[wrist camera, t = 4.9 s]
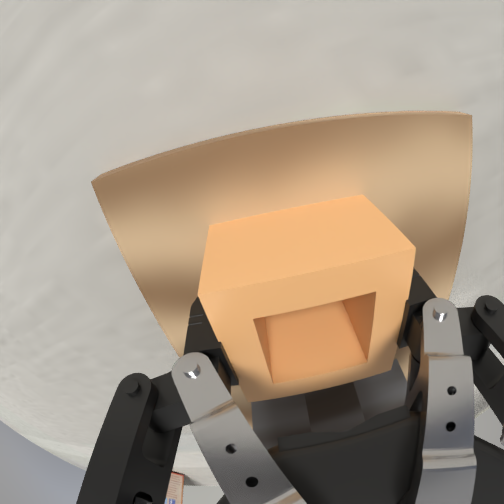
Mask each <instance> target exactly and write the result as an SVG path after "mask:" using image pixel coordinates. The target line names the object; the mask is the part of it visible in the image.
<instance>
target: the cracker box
mask: <svg viewBox="0 0 504 504" xmlns="http://www.w3.org/2000/svg"><path fill="white" fill-rule="evenodd" d="M183 484H184V475H181V474H178V473H174V472H172V473H171V477H170V481H169V486H168V490H167V495H166V499H165V504H182V503H183Z"/></svg>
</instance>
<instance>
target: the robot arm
mask: <svg viewBox="0 0 504 504" xmlns="http://www.w3.org/2000/svg"><path fill="white" fill-rule="evenodd" d="M189 317H190V318H189V321H188V327H187V334H186V340H185V347H184V354H183V356H182V357H180V358H179V359H178V360H177V361H176V362H175V363H174V365H173V367H172V371H170V372H169V373H167V374H164V375H161V376H159V377H156V378H153V379H149V378H148V377H147V376H146V375H145V374H142V373H134V374H130V375H128V376H127V377H125V378H124V379H123V380H122V381H121V382H120V384H119V385H118V388H117V390H116V392H115V395H114V397H113V400H112V402H111V405H110V407H109V410H108V412H107V415H106V418H105V420H104V423H103V425H102V428H101V431H100V433H99V436H98V439H97V442H96V444H95V447H94V450H93V453H92V456H91V459H90V462H89V465H88V468H87V471H86V474H85V477H84V480H83V483H82V487H81V490H80V493H79V496H78V500H77V503H76V504H165V499H166V495H167V490H168V486H169V481H170V477H171V473H172V468H173V464H174V460H175V456H176V451H177V447H178V443H179V439H180V435H181V431H182V427H183V426H185V425H188V424H190V428H191V431H192V433H193V435H194V437H195V439H196V441H197V443H198V445H199V448H200V450H201V452H202V454H203V456H204V457H205V459H206V461H207V463H208V465H209V467H210V469H211V471H212V473H213V475H214V476H215V478H216V480H217V482H218V484H219V485H220V487H221V489H222V491H223V492H224V495H223V497H222V498H221V499H220V500H219V501H218V503H217V504H504V450H503V449H501V448H499V447H497V446H495V445H493V444H491V443H489V442H487V441H485V440H483V439H481V438H479V437H477V436H475V435H474V384H475V386H476V387H477V388H478V390H479V391H480V393H481V394H482V396H483V397H484V398H485V400H486V401H487V403H488V404H489V406H490V407H491V409H492V410H493V411H494V413H495V415H496V416H497V418H498V419H499V421H500V422H501V424H502V426H503V429H502V435H501V438H500V442H501V444H502V445H504V366H503V364H502V363H501V362H500V361H499V359H498V358H497V357H496V356H495V354H494V353H493V352H492V351H491V350H490V348H489V346H490V344H492V345H493V346H494V347H495V349H496V350H497V351H498V352H499V353H500V355H501V356H502V357H503V358H504V304H503V303H502V302H501V301H499V300H498V299H497V298H495V297H493V296H489V295H485V296H481V297H479V298H478V299H477V300H476V303H475V305H474V307H466V308H456V307H455V305H454V304H453V303H452V302H450V301H449V300H447V299H443V298H437V297H436V295H435V294H434V293H433V291H432V290H431V289H430V287H429V286H428V285H427V283H426V282H425V281H424V279H423V278H422V277H421V276H420V275H419V273H418V272H417V271H416V270H415V269H414V267H413V274H412V280H411V286H410V292H409V297H408V300H406V303H405V308H404V313H403V318H402V322H401V327H400V331H399V336H398V340H397V345H398V347H399V349H400V348H403V347H406V346H409V348H410V350H411V351H410V354H409V365H408V380H407V391H406V398H405V402H404V405H403V406H400V407H398V408H395V409H392V410H389V411H386V412H383V413H380V414H377V415H375V416H374V417H372V418H370V419H369V420H367V421H365V422H363V423H362V424H360V425H358V426H356V427H354V428H352V429H351V430H348V431H345V432H308V433H302V434H297V435H291V436H285V437H279V438H277V439H278V445H277V446H274V447H272V448H270V449H268V450H266V449H265V447H264V446H263V444H262V443H261V441H260V440H259V438H258V437H257V435H256V434H255V432H254V431H253V429H252V428H251V426H250V425H249V423H248V422H247V420H246V419H245V417H244V416H243V414H242V413H241V411H240V409H239V408H238V406H237V405H236V403H235V402H234V400H233V399H232V397H231V386H236V385H239V379H238V377H237V375H236V373H235V371H234V369H233V366H232V364H231V362H230V360H229V358H228V356H227V354H226V351H225V349H224V347H223V345H222V343H221V342H218V340H217V338H216V335H215V333H214V331H213V329H212V326H211V324H210V322H209V320H208V318H207V315H206V313H205V311H204V308H203V306H202V304H201V301H200V299H199V297H197V298H196V299H195V301H194V302H193V304H192V306H191V309H190V315H189Z"/></svg>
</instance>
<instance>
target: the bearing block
mask: <svg viewBox="0 0 504 504" xmlns="http://www.w3.org/2000/svg"><path fill="white" fill-rule="evenodd" d="M471 169H472V115H469V114H465V113H461V112H450V111H401V112H379V113H365V114H353V115H343V116H334V117H325V118H318V119H310V120H303V121H297V122H291V123H285V124H279V125H273V126H268V127H263V128H258V129H253V130H248V131H243V132H239V133H234V134H230V135H226V136H221V137H217V138H213V139H209V140H205V141H202V142H198V143H194V144H191V145H187V146H183V147H180V148H177V149H173V150H170V151H167V152H163V153H160V154H157V155H154V156H151V157H148V158H145V159H142V160H139V161H136V162H133V163H130V164H127V165H125V166H122V167H119V168H116V169H114V170H111V171H108V172H106V173H103V174H101V175H100V176H98V177H97V178H96V179H94V180H93V181H92V182H91V183H92V186H93V188H94V191H95V193H96V196H97V198H98V201H99V203H100V206H101V208H102V211H103V213H104V215H105V218H106V220H107V222H108V225H109V227H110V229H111V231H112V234H113V236H114V238H115V240H116V242H117V245H118V247H119V249H120V251H121V253H122V255H123V257H124V259H125V261H126V263H127V265H128V267H129V269H130V271H131V273H132V275H133V277H134V279H135V281H136V283H137V285H138V287H139V289H140V291H141V293H142V294H143V296H144V298H145V300H146V302H147V304H148V305H149V307H150V309H151V311H152V312H153V314H154V316H155V318H156V319H157V321H158V323H159V325H160V326H161V328H162V330H163V331H164V333H165V335H166V336H167V338H168V340H169V341H170V343H171V345H172V346H173V348H174V349H175V351H176V353H177V354H178V356H179V357H182V356H183V354H184V347H185V340H186V334H187V327H188V321H189V318H190V317H189V315H190V309H191V306H192V304H193V302H194V301H195V299H196V298H197V297H198V289H199V282H200V276H201V270H202V264H203V258H204V252H205V247H206V241H207V235H208V230H209V225H214V224H218V223H223V222H227V221H232V220H236V219H241V218H245V217H250V216H255V215H259V214H264V213H269V212H274V211H279V210H284V209H289V208H294V207H299V206H304V205H309V204H314V203H319V202H325V201H330V200H335V199H341V198H346V197H352V196H358V195H364V196H365V197H366V198H367V199H368V200H369V201H371V202H372V203H373V204H374V205H375V206H376V207H377V208H378V209H379V210H380V211H381V212H382V213H383V214H384V215H385V216H386V217H387V218H388V219H389V220H390V221H391V222H392V223H393V224H394V225H395V226H396V227H397V228H398V229H399V230H400V231H401V232H402V233H403V234H404V235H405V236H406V238H407V239H408V240H409V241H410V242H411V243H412V244H413V245H414V246H415V247H416V252H415V260H414V269H415V270H416V271H417V272H418V273H419V275H420V276H421V277H422V278H423V279H424V281H425V282H426V283H427V285H428V286H429V287H430V289H431V290H432V291H433V293H434V294H435V295H436V297H437V298H443V299H447V300H448V299H449V296H450V293H451V289H452V285H453V282H454V278H455V274H456V270H457V265H458V261H459V256H460V252H461V247H462V242H463V236H464V231H465V224H466V218H467V211H468V203H469V194H470V183H471ZM410 351H411V350H410V348H409V346H406V347H403V348H400V349H399V347H398V346H397V350H396V354H395V357H394V361H393V364H392V368H391V370H390V371H387V372H384V373H380V374H377V375H374V376H371V377H367V378H364V379H360V380H357V381H353V382H350V383H346V384H342V385H338V386H334V387H330V388H326V389H321V390H317V391H312V392H308V393H303V394H298V395H292V396H287V397H281V398H276V399H269V400H263V401H256V402H248V401H247V399H246V397H245V396H244V394H243V392H242V390H241V388H240V386H239V385H236V386H231V397H232V399H233V400H234V402H235V403H236V405H237V406H238V408H239V409H240V411H241V413H242V414H243V416H244V417H245V419H246V420H247V422H248V423H249V425H250V426H251V428H252V429H253V431H254V432H255V434H256V435H257V437H258V438H259V440H260V441H261V443H262V444H263V446H264V447H265V449H266V450H268V449H270V448H272V447H274V446H277V445H278V439H277V438H279V437H285V436H291V435H297V434H302V433H308V432H345V431H348V430H351V429H352V428H354V427H356V426H358V425H360V424H362V423H363V422H365V421H367V420H369V419H370V418H372V417H374V416H375V415H377V414H380V413H383V412H386V411H389V410H392V409H395V408H398V407H400V406H403V405H404V402H405V398H406V391H407V380H408V365H409V354H410Z"/></svg>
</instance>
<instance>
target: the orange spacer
mask: <svg viewBox="0 0 504 504" xmlns="http://www.w3.org/2000/svg"><path fill="white" fill-rule="evenodd" d="M415 252H416V247H415V246H414V245H413V244H412V243H411V242H410V241H409V240H408V239H407V238H406V236H405V235H404V234H403V233H402V232H401V231H400V230H399V229H398V228H397V227H396V226H395V225H394V224H393V223H392V222H391V221H390V220H389V219H388V218H387V217H386V216H385V215H384V214H383V213H382V212H381V211H380V210H379V209H378V208H377V207H376V206H375V205H374V204H373V203H372V202H371V201H369V200H368V199H367V198H366V197H365V196H364V195H358V196H352V197H346V198H341V199H335V200H330V201H325V202H319V203H314V204H309V205H304V206H299V207H294V208H289V209H284V210H279V211H274V212H269V213H264V214H259V215H255V216H250V217H245V218H241V219H236V220H232V221H227V222H223V223H218V224H214V225H209V230H208V235H207V241H206V247H205V252H204V258H203V264H202V270H201V276H200V282H199V289H198V297H199V299H200V301H201V304H202V306H203V308H204V311H205V313H206V315H207V318H208V320H209V322H210V324H211V326H212V329H213V331H214V333H215V335H216V338H217V340H218V342H221V343H222V345H223V347H224V349H225V351H226V354H227V356H228V358H229V360H230V362H231V364H232V366H233V369H234V371H235V373H236V375H237V377H238V379H239V386H240V388H241V390H242V392H243V394H244V396H245V397H246V399H247V401H248V402H256V401H263V400H269V399H276V398H281V397H287V396H292V395H298V394H303V393H308V392H312V391H317V390H321V389H326V388H330V387H334V386H338V385H342V384H346V383H350V382H353V381H357V380H360V379H364V378H367V377H371V376H374V375H377V374H380V373H384V372H387V371H390V370H391V368H392V364H393V361H394V357H395V354H396V350H397V346H398V345H397V340H398V336H399V331H400V327H401V322H402V318H403V313H404V308H405V303H406V300H408V297H409V292H410V286H411V280H412V274H413V267H414V260H415Z"/></svg>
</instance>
